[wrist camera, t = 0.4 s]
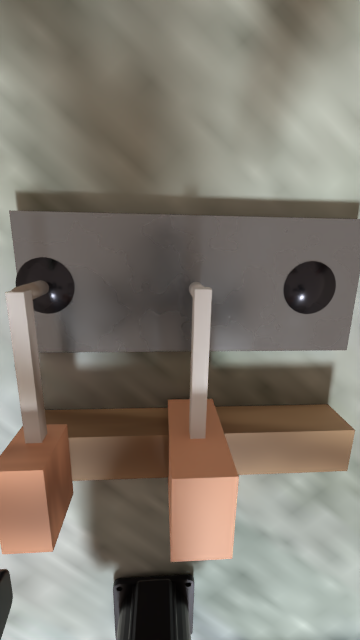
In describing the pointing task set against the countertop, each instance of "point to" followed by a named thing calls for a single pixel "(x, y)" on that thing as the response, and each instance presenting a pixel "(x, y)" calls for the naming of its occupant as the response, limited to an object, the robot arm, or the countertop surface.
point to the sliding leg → (200, 458)
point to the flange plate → (187, 280)
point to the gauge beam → (130, 442)
